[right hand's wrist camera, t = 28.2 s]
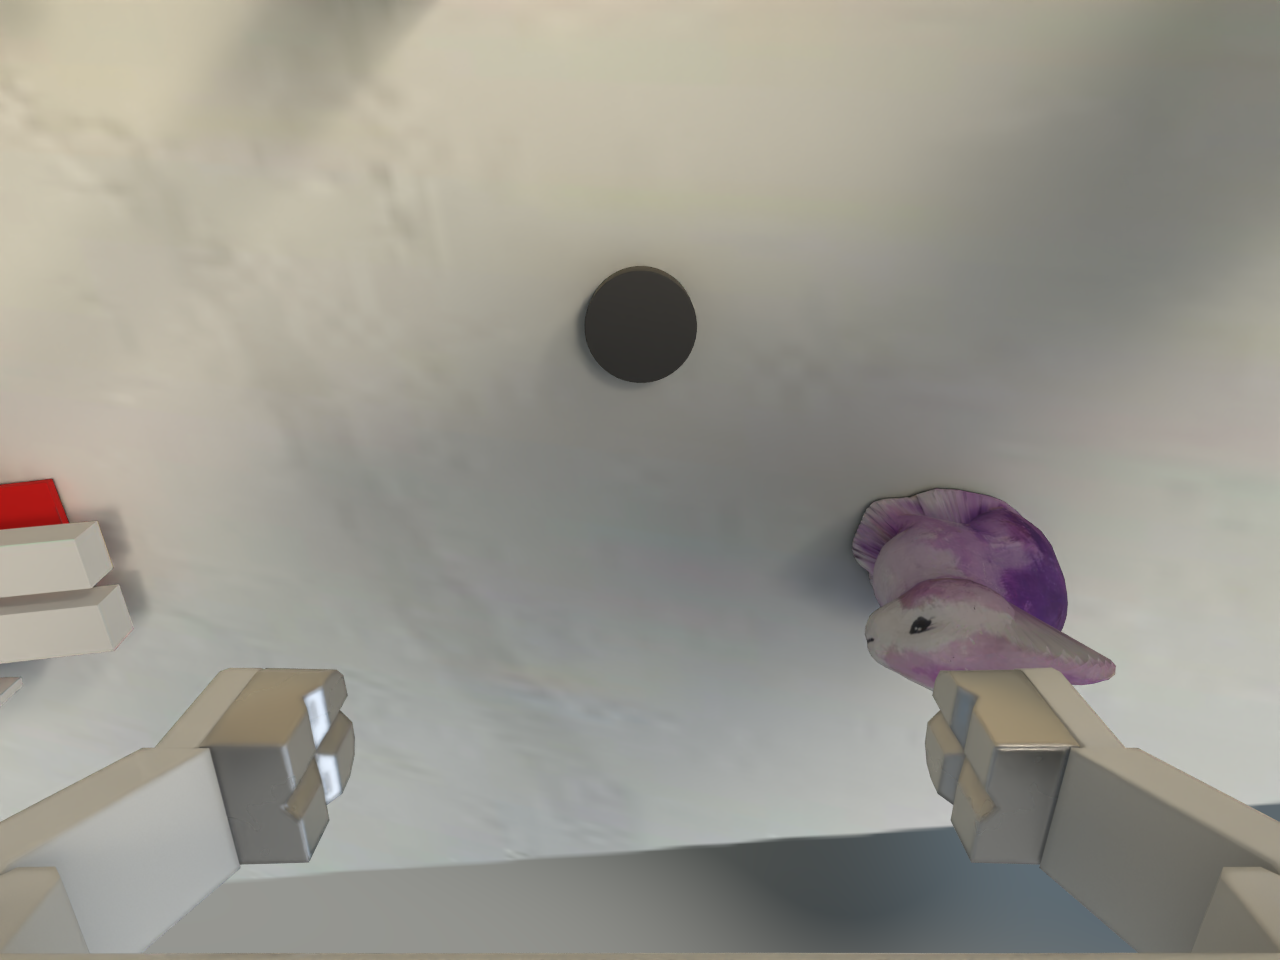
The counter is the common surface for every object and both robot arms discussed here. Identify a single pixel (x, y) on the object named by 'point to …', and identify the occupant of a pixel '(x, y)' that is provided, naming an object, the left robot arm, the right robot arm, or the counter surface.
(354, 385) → the counter surface
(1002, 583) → the figurine
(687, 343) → the lid
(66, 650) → the toy
